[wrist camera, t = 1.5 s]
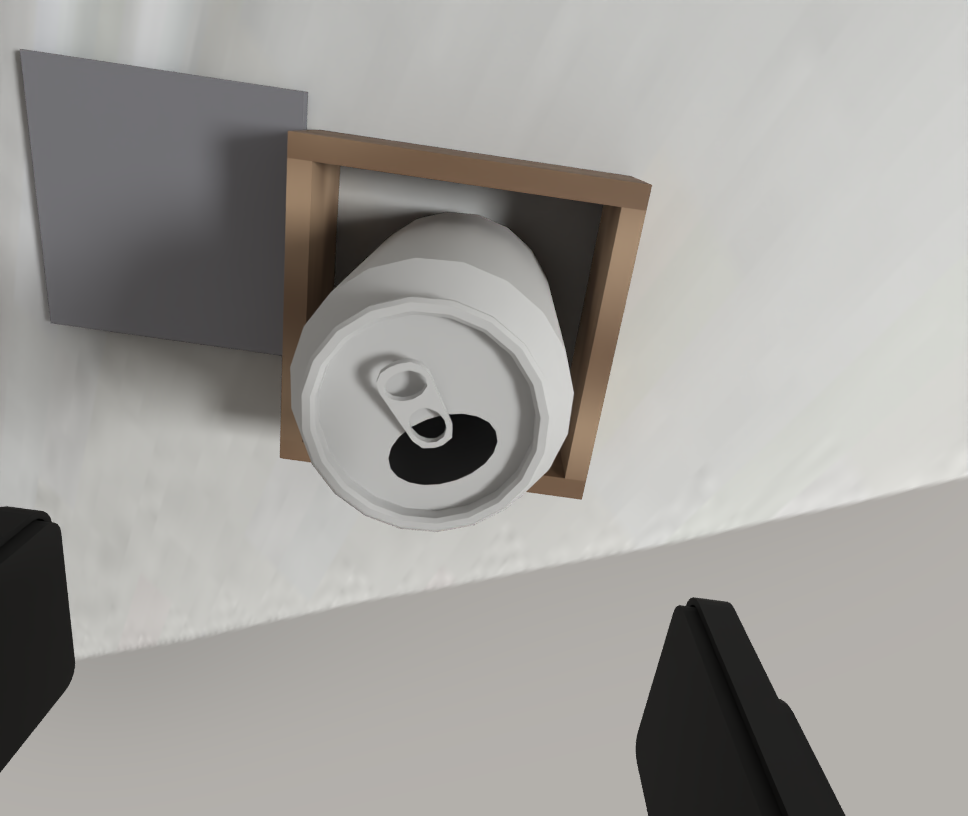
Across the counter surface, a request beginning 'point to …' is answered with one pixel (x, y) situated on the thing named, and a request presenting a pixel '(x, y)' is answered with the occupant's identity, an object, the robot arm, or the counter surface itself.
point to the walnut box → (622, 196)
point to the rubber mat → (161, 199)
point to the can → (435, 376)
